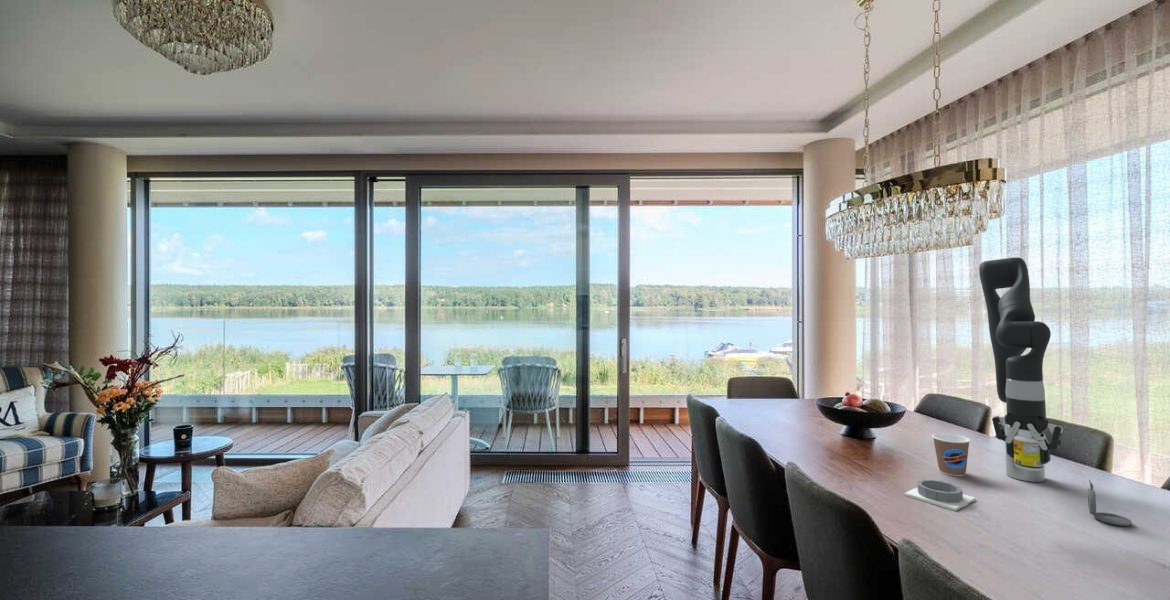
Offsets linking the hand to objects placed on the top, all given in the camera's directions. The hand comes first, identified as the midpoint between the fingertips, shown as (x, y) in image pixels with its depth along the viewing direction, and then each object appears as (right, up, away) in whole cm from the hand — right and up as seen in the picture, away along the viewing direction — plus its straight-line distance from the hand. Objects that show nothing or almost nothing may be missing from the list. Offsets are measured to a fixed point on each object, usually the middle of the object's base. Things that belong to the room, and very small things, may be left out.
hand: (1028, 459), depth 121 cm
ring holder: (-11, -17, +16) cm, 26 cm away
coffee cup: (+9, -17, +36) cm, 41 cm away
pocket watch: (+21, -16, 0) cm, 26 cm away
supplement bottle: (0, -2, 0) cm, 2 cm away
